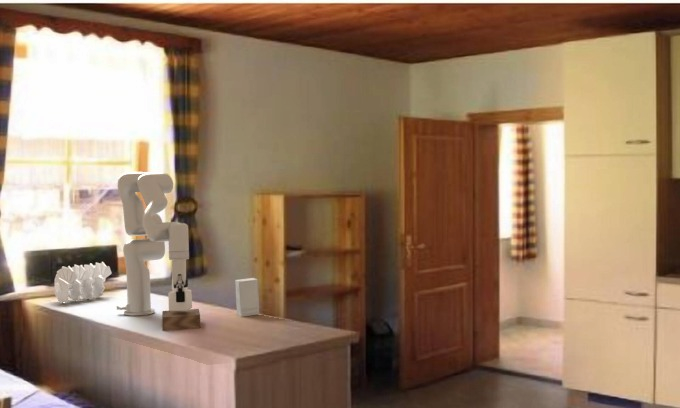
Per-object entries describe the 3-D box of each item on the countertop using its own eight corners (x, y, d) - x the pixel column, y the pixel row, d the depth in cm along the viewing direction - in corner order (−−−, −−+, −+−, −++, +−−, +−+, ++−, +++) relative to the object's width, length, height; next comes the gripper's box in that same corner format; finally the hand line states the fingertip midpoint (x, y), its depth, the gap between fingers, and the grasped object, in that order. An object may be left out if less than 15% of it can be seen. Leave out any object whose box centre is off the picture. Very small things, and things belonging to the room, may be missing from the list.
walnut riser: (162, 330, 273) (162, 317, 273) (162, 323, 287) (162, 311, 287) (200, 328, 277) (200, 314, 276) (199, 321, 290) (198, 308, 290)
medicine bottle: (192, 307, 285) (191, 277, 285) (186, 311, 278) (185, 279, 277) (174, 307, 286) (173, 277, 285) (168, 311, 279) (167, 279, 278)
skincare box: (255, 312, 306) (254, 277, 306) (259, 315, 301) (258, 279, 300) (235, 314, 302) (234, 279, 302) (240, 317, 297) (239, 280, 296)
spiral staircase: (53, 311, 344) (99, 301, 363) (71, 298, 333) (118, 288, 353) (41, 276, 347) (87, 267, 367) (59, 262, 337) (105, 254, 357)
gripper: (169, 253, 289) (170, 297, 289) (168, 258, 272) (170, 304, 272) (188, 252, 290) (189, 296, 291) (189, 257, 273) (190, 303, 274)
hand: (180, 300), depth 282 cm, fingers closed on medicine bottle, 8 cm apart
